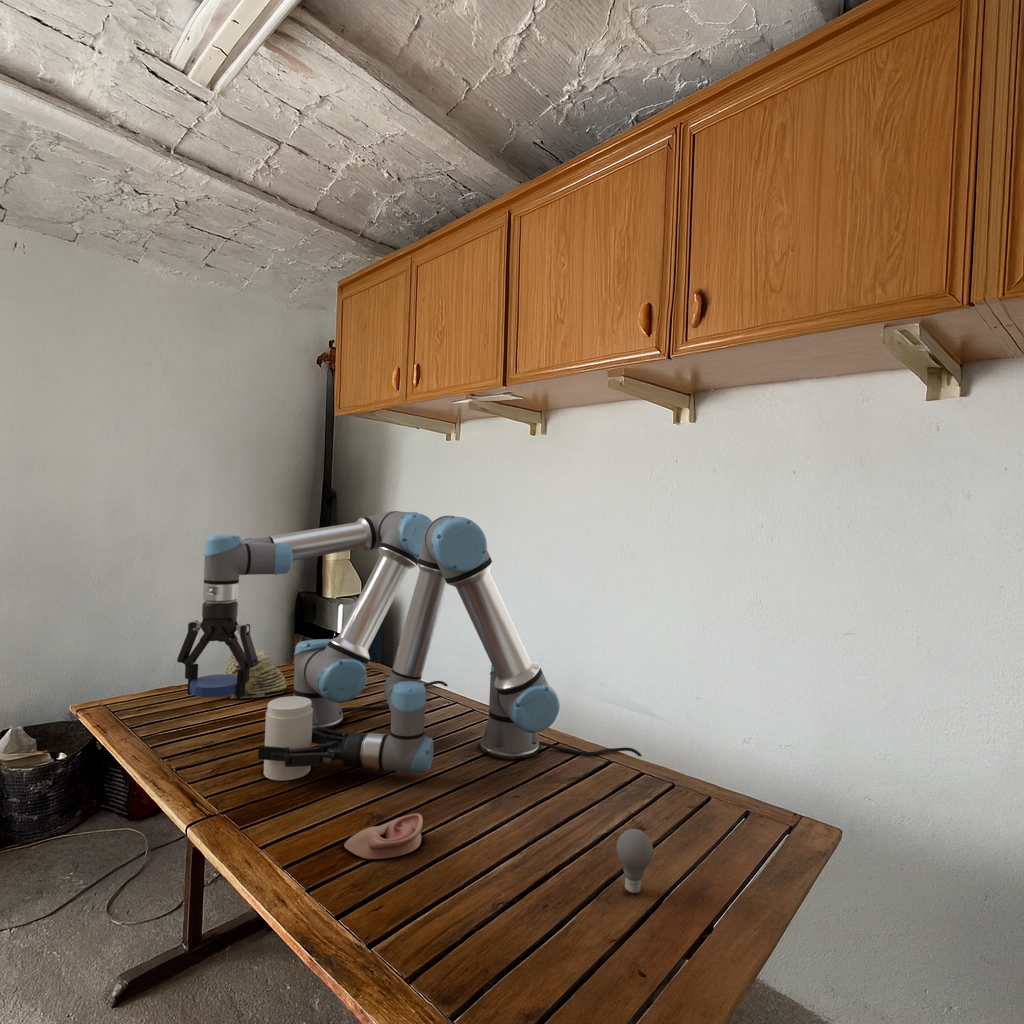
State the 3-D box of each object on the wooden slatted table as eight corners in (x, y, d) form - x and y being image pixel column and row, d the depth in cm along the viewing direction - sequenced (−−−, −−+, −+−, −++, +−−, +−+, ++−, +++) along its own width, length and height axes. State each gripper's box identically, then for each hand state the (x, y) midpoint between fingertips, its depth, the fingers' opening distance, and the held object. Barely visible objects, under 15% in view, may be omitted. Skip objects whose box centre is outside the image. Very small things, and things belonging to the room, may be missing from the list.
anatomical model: (336, 832, 112) (364, 802, 124) (336, 854, 112) (363, 822, 124) (407, 843, 110) (429, 812, 121) (406, 866, 110) (428, 832, 121)
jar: (279, 759, 151) (281, 693, 151) (318, 764, 150) (321, 698, 149) (254, 777, 141) (256, 707, 141) (296, 783, 140) (299, 711, 139)
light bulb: (610, 879, 108) (613, 822, 108) (644, 879, 109) (647, 822, 109) (619, 902, 102) (622, 840, 102) (655, 901, 103) (658, 840, 103)
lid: (200, 682, 153) (200, 673, 153) (248, 683, 154) (248, 674, 154) (181, 696, 142) (182, 687, 142) (233, 697, 143) (234, 688, 143)
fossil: (218, 695, 195) (220, 647, 195) (278, 685, 208) (279, 640, 207) (228, 703, 189) (230, 653, 188) (289, 692, 201) (290, 645, 201)
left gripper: (162, 600, 145) (158, 695, 145) (261, 606, 143) (257, 703, 143) (181, 595, 152) (177, 686, 152) (276, 601, 151) (272, 693, 151)
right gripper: (346, 789, 133) (245, 780, 134) (378, 747, 155) (291, 740, 157) (348, 753, 132) (246, 745, 134) (379, 717, 155) (292, 710, 157)
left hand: (216, 694), depth 148 cm, fingers closed on lid, 11 cm apart
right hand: (270, 743), depth 146 cm, fingers closed on jar, 10 cm apart
